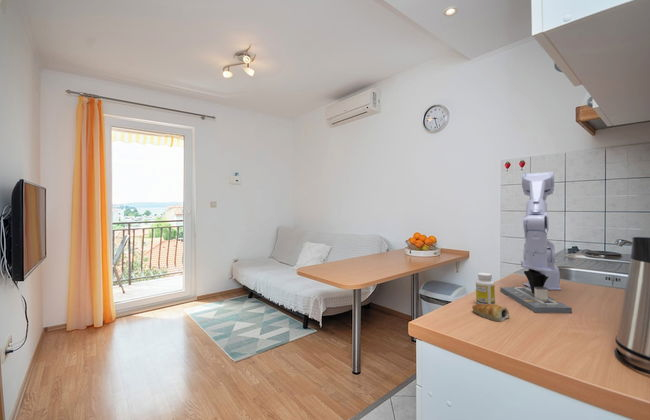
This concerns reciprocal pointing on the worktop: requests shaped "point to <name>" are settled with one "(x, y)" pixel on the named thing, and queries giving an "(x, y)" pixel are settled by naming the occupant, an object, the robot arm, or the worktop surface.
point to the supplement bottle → (485, 289)
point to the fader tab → (541, 293)
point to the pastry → (491, 311)
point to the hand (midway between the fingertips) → (536, 293)
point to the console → (535, 301)
